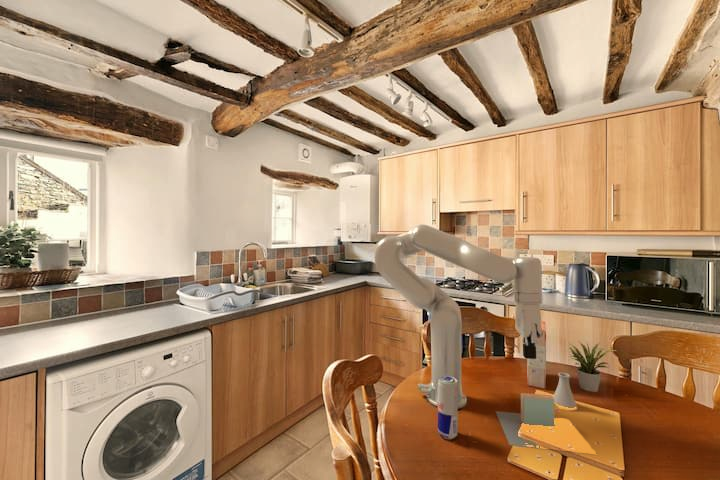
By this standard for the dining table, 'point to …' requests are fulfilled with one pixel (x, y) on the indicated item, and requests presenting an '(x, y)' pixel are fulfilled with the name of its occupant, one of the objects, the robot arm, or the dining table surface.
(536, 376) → the cracker box
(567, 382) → the flask
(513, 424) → the mat
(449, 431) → the beverage can
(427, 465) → the dining table surface
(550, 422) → the tile
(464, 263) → the robot arm
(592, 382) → the house plant
